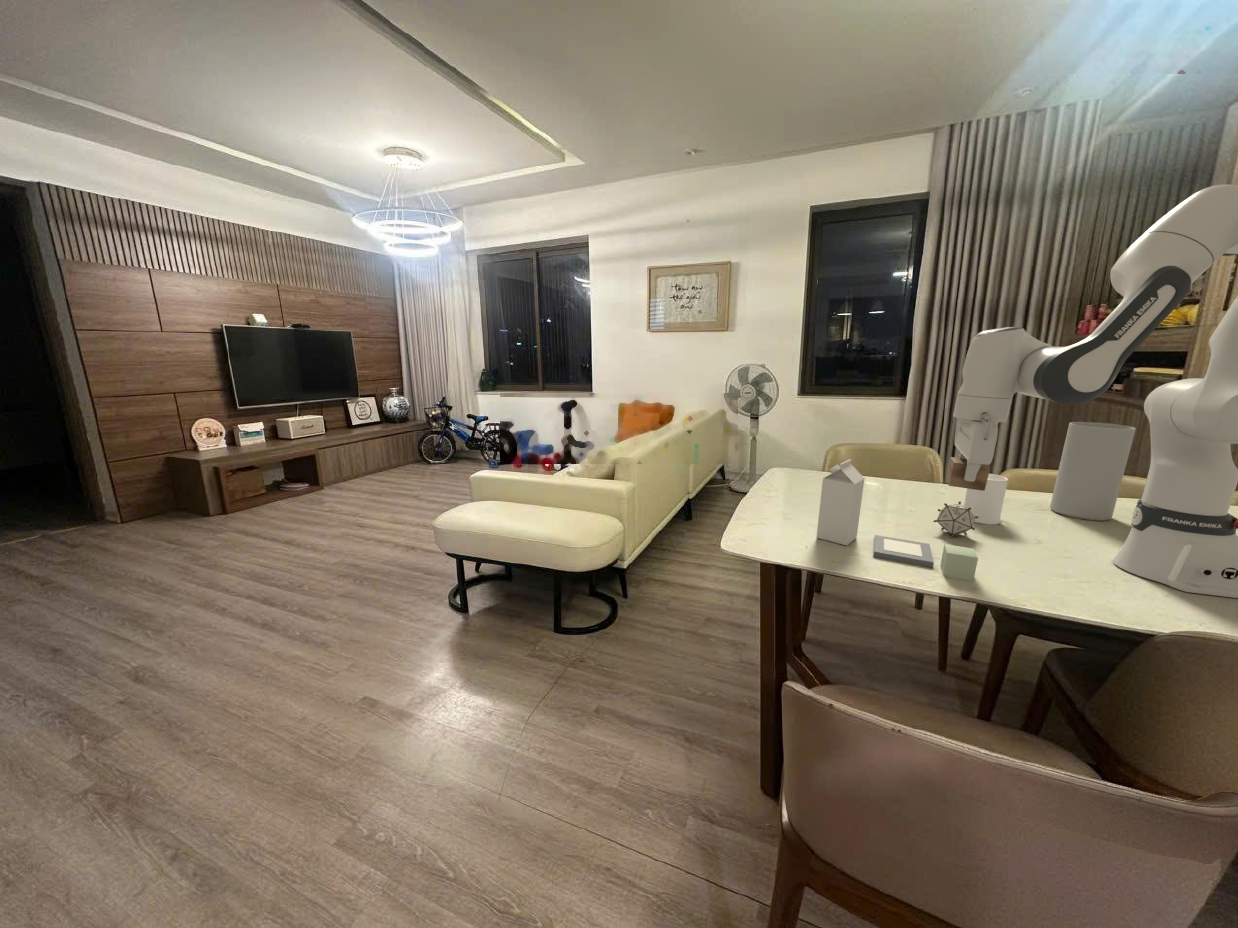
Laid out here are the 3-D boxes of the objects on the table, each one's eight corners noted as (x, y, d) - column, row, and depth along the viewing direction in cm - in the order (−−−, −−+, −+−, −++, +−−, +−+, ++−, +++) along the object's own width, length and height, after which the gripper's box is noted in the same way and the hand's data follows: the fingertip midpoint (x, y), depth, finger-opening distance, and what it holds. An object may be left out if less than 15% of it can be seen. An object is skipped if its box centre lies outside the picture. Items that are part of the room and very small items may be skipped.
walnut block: (979, 483, 99) (984, 461, 98) (984, 490, 94) (990, 466, 93) (945, 479, 102) (950, 456, 101) (948, 485, 97) (954, 462, 95)
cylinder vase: (1038, 505, 137) (1057, 421, 131) (1086, 507, 136) (1107, 422, 130) (1072, 520, 125) (1094, 428, 119) (1125, 523, 124) (1150, 429, 118)
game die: (959, 550, 115) (992, 529, 107) (926, 536, 116) (955, 514, 108) (955, 523, 121) (985, 501, 113) (923, 510, 121) (951, 487, 114)
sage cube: (969, 571, 96) (973, 548, 95) (973, 581, 92) (978, 558, 90) (940, 566, 98) (944, 544, 97) (942, 575, 94) (947, 552, 93)
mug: (985, 511, 132) (994, 470, 129) (1017, 522, 124) (1027, 478, 121) (952, 515, 129) (960, 473, 126) (983, 526, 121) (992, 481, 118)
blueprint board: (928, 548, 107) (929, 543, 106) (932, 567, 97) (933, 561, 97) (874, 539, 112) (874, 534, 111) (873, 556, 102) (874, 551, 102)
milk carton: (856, 537, 113) (866, 461, 108) (847, 546, 108) (857, 466, 103) (826, 530, 117) (835, 457, 113) (816, 538, 112) (824, 461, 108)
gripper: (1013, 418, 84) (995, 491, 87) (990, 407, 101) (975, 468, 105) (970, 414, 87) (954, 485, 90) (955, 404, 104) (942, 464, 107)
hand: (965, 476), depth 97 cm, fingers closed on walnut block, 6 cm apart
